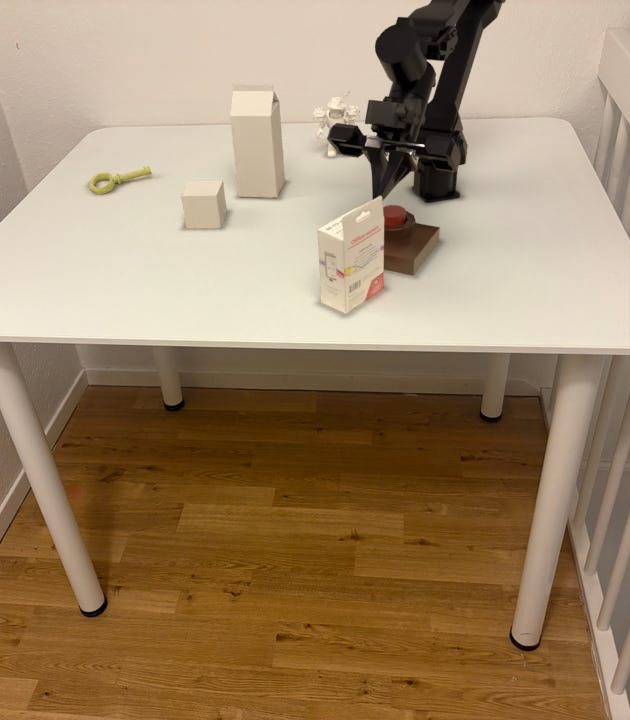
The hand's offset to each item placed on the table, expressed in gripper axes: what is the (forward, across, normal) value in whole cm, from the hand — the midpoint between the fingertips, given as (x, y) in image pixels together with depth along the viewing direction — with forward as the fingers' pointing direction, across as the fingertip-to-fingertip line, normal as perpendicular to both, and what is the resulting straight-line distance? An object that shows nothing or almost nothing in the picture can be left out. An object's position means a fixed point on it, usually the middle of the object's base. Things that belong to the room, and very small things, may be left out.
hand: (376, 203), depth 104 cm
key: (+1, -57, +14) cm, 59 cm away
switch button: (0, 0, +9) cm, 9 cm away
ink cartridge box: (+14, 0, +1) cm, 14 cm away
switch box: (+4, 0, +10) cm, 11 cm away
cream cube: (+6, -32, +9) cm, 34 cm away
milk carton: (-4, -30, +19) cm, 36 cm away
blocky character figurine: (-18, -24, +33) cm, 45 cm away
